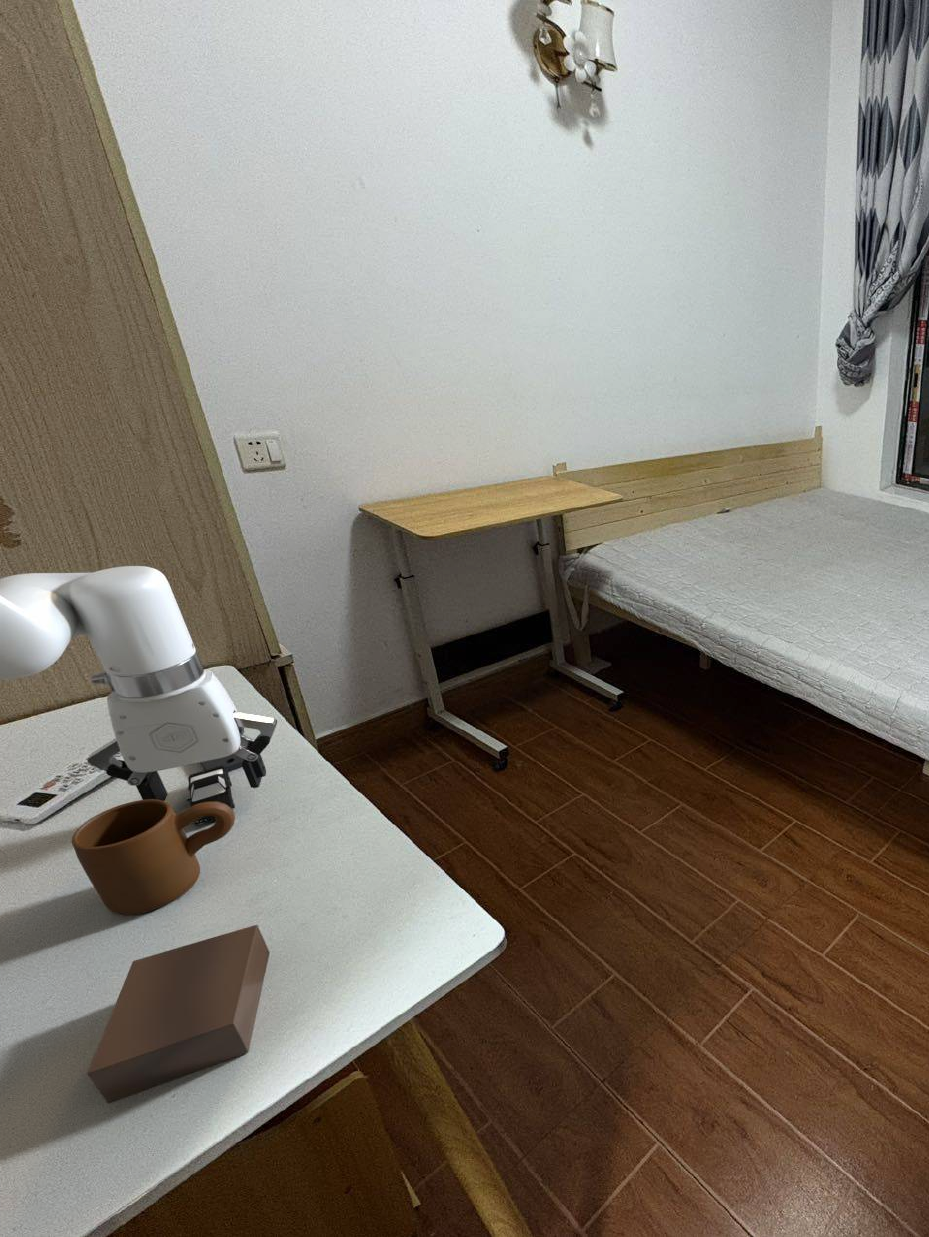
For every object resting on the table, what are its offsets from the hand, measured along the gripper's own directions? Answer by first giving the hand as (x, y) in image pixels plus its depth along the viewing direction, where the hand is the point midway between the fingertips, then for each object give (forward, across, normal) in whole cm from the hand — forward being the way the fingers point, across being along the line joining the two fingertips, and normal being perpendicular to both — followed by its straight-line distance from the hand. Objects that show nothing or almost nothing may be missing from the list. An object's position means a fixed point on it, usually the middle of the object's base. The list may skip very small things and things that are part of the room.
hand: (210, 791), depth 84 cm
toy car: (+2, 0, 0) cm, 2 cm away
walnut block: (+2, +5, -34) cm, 34 cm away
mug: (+2, 0, -14) cm, 14 cm away
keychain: (+2, -1, +11) cm, 11 cm away
